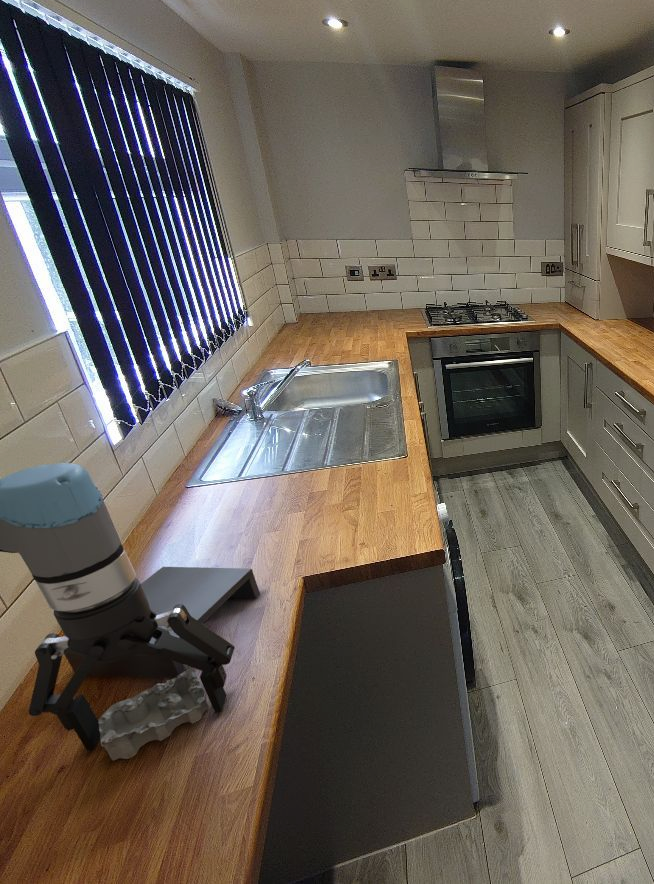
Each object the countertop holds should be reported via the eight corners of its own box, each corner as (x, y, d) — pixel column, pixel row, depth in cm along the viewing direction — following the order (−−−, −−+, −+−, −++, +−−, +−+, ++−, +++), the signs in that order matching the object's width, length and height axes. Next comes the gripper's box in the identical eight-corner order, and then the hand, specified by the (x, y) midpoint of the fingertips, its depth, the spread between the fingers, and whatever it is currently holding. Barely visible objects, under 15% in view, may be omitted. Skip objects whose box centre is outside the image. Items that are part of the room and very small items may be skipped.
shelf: (75, 674, 76) (59, 646, 74) (173, 591, 93) (162, 566, 91) (179, 678, 76) (166, 649, 73) (260, 593, 92) (251, 568, 90)
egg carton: (109, 771, 63) (95, 748, 61) (105, 730, 68) (92, 708, 66) (214, 715, 70) (204, 693, 68) (203, 682, 75) (194, 660, 73)
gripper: (-75, 648, 53) (20, 785, 61) (214, 584, 62) (263, 712, 70) (-27, 601, 60) (53, 731, 68) (229, 549, 68) (272, 670, 76)
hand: (160, 722), depth 69 cm, fingers open, 13 cm apart
